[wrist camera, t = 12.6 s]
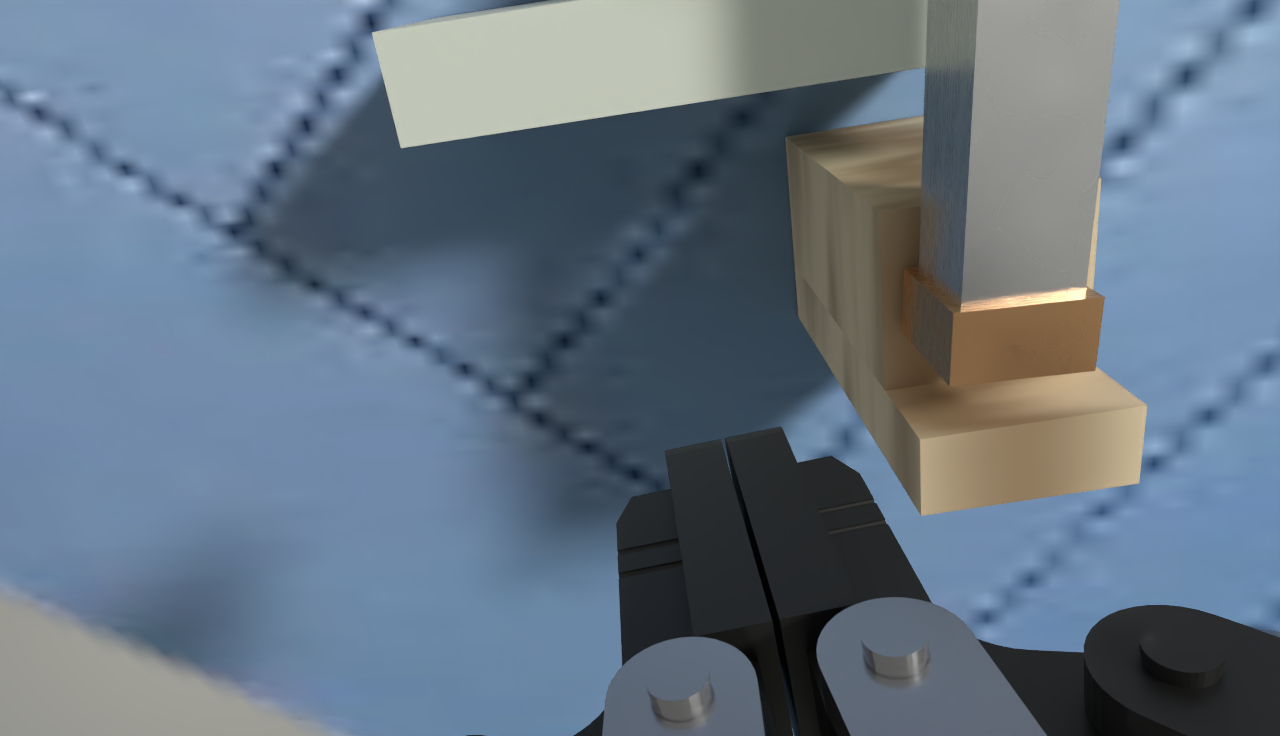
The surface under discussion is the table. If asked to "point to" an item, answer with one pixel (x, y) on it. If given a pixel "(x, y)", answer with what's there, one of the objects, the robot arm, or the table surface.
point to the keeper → (900, 376)
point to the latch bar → (1010, 188)
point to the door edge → (628, 58)
